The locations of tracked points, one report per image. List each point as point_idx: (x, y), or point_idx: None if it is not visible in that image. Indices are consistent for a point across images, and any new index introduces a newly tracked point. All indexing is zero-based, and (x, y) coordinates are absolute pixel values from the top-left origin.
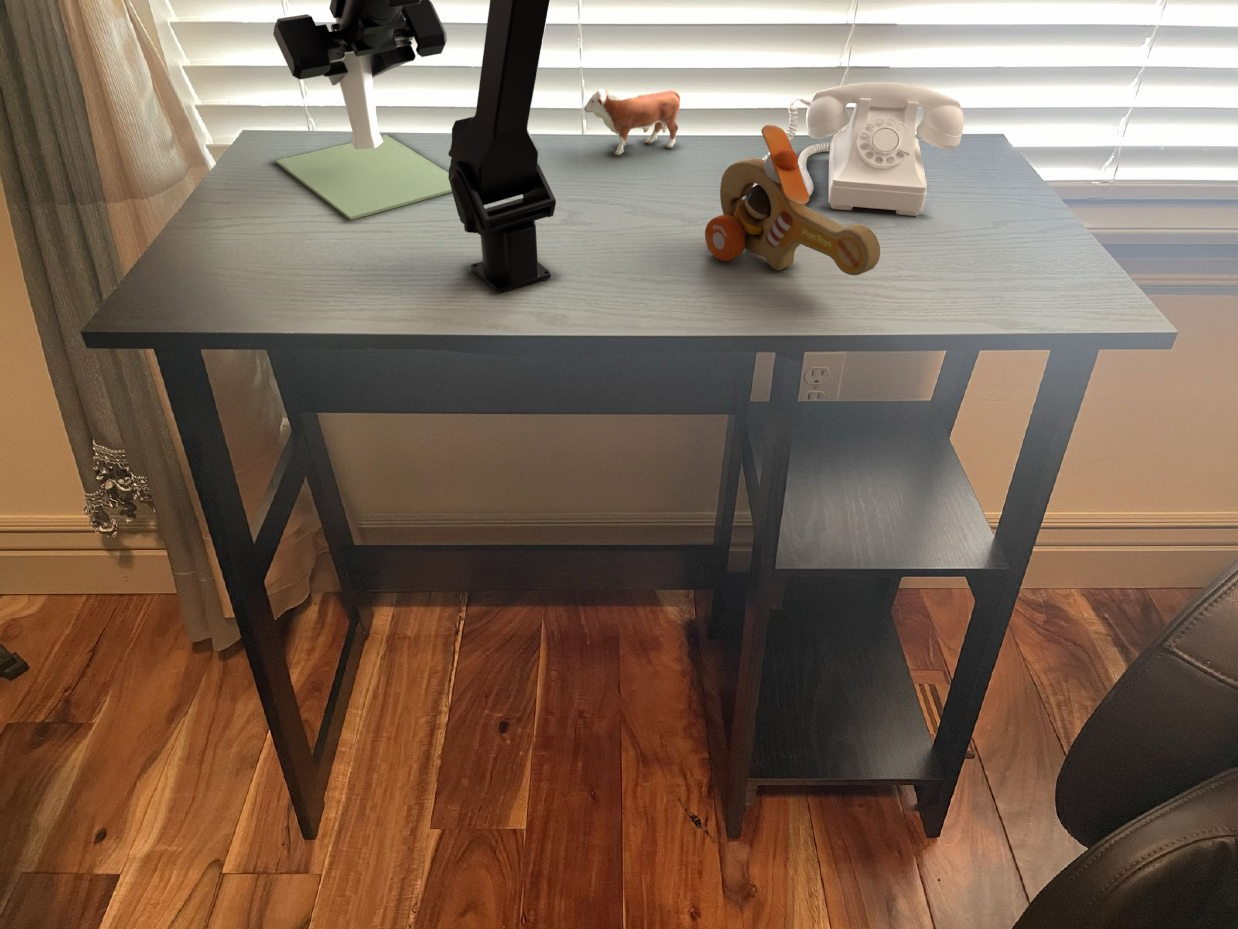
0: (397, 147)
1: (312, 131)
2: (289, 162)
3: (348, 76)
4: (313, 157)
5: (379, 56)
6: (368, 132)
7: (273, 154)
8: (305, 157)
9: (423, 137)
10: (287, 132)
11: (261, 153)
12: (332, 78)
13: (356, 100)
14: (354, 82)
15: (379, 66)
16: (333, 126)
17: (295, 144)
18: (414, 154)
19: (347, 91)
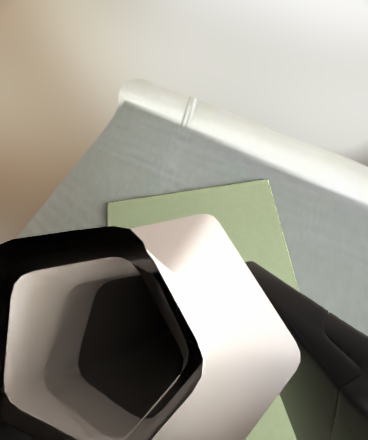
0: (270, 232)
1: (184, 126)
2: (118, 217)
3: (145, 373)
4: (150, 215)
5: (310, 421)
6: (198, 348)
7: (117, 175)
8: (141, 210)
9: (320, 202)
10: (157, 119)
11: (107, 167)
12: None
13: (174, 359)
14: (166, 377)
15: (286, 397)
16: (212, 120)
17: (151, 156)
18: (288, 272)
19: (148, 354)
